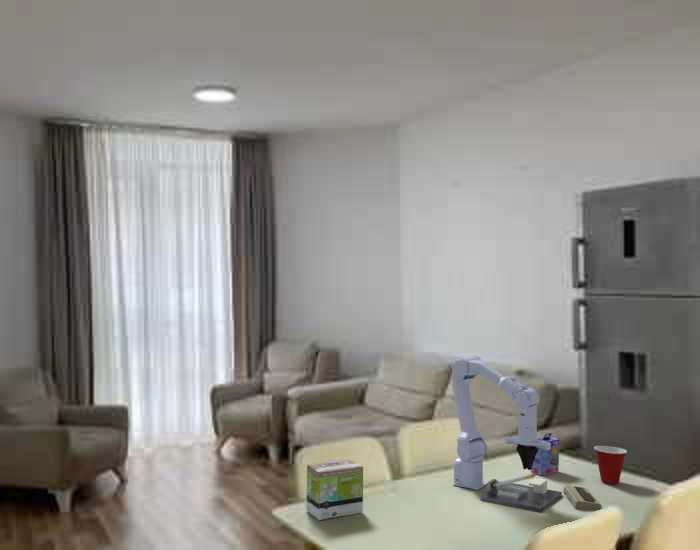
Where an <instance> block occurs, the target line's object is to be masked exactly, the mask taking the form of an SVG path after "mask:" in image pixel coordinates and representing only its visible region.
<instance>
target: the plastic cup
mask: <svg viewBox="0 0 700 550" xmlns="http://www.w3.org/2000/svg"><path fill="white" fill-rule="evenodd" d="M593 448H594V450H595V455H596V458H597V459H596V461H597V466H598V471H599V476H600V482H601V483H602V482H603V483H602V484H604V485H608V484H610V485H609V486H616V485H615V484H617V485H619V484H620V479H621V474H622V471H623V464H624V460H625V455H626V454H627V453H628V451H627V449H624V448H622V447H616V446H609V445H596V446H594V447H593ZM618 483H619V484H618Z"/></svg>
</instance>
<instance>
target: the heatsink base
mask: <svg viewBox="0 0 700 550" xmlns="http://www.w3.org/2000/svg"><path fill="white" fill-rule="evenodd" d="M497 481H498V480H497V479H496V478H492V479H491V480H489V481H487V482H486V483H487V485H486V492H485V493H484V494H482V495H481V496H480V501H482V502H483V501H484V502H488V503H493V504H498V505H502V506H508V507H512V508H518V509H521V510H522V509H523V510H527V511H532V512H538V513H541V512H543V511H545V509H547V508H548V507H550V505H551V504H554V502H556V501H557V500H558V499H559V498H561V497H562V495H563V494H562V493H563V491H557V490H552V489H548V488H547V492H546V493H545V494H540V493H535V492H533V486H531V485H525V484H519V483H516V482H514V483H509V484H505V485H501V486H497V487H496V488H492V484H494V483H495V482H497Z"/></svg>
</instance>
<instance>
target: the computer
mask: <svg viewBox="0 0 700 550" xmlns="http://www.w3.org/2000/svg"><path fill="white" fill-rule="evenodd" d="M562 493H563V494H564V495H565V496H566V499H567V500H568V501H569V503H571V504H572V506H573V507H574V510H601V509H602V504H601V503H600V502H599V500H598V499H597V498H596V497H595V496H594V495H593V494H592V492H591V491H590V490H589V489H588V488H587V487H583V486H577V485H564V486H563V490H562ZM600 508H601V509H600Z"/></svg>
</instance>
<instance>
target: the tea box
mask: <svg viewBox="0 0 700 550" xmlns="http://www.w3.org/2000/svg"><path fill="white" fill-rule="evenodd" d="M305 507H306V511H307V512H308V513H309V514H310V515H312V516H313V517H314V518H315V519H317V520H318V521H321V520H327V519H331V518H332V519H333V518H337V517H344V516H350V515H352V516H353V515H357V513H359V514H362V513H363V512H364V466H362V465H361V464H359V463H357V462H355V461H353V460H351V459H349V458H347V459H341V460H340V459H339V460H334V461H333V460H332V461H326V462H318V463H309V464H306V506H305Z"/></svg>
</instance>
